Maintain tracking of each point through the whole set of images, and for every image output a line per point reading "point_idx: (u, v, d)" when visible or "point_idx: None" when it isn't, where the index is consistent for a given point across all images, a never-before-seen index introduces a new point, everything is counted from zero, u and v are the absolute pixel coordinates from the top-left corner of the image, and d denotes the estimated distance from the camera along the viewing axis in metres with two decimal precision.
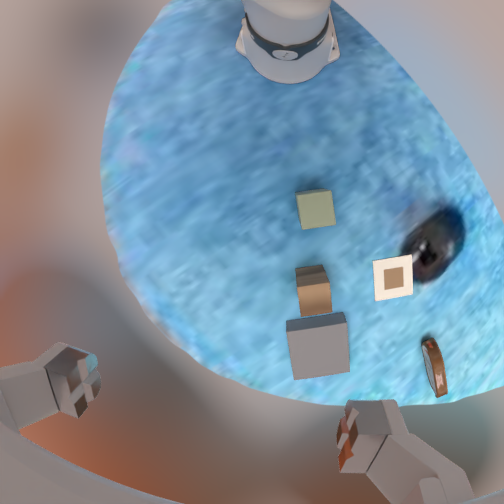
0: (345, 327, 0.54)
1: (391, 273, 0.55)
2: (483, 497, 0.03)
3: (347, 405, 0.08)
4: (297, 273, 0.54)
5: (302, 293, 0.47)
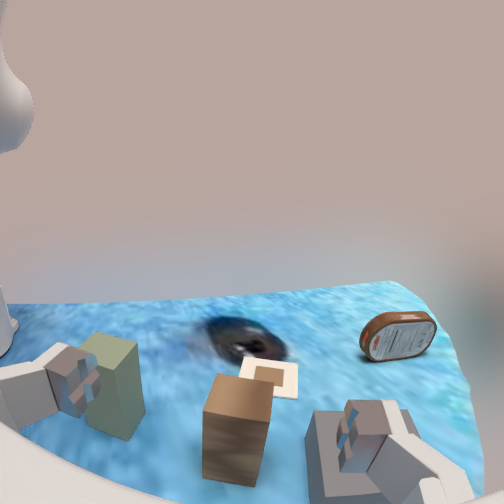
0: (322, 413, 0.28)
1: (261, 376, 0.40)
2: (483, 497, 0.03)
3: (347, 405, 0.08)
4: None
5: (218, 407, 0.22)
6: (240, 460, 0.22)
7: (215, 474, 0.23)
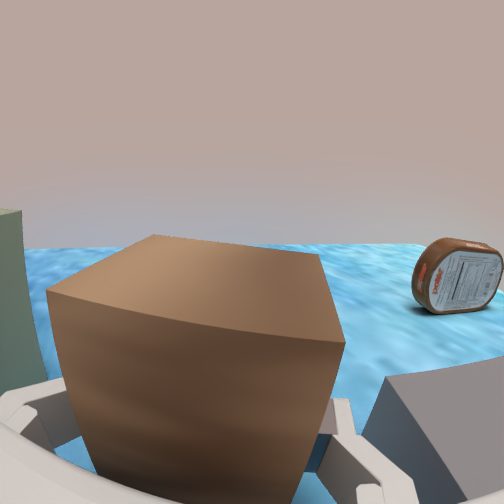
0: (406, 378, 0.11)
1: None
2: (483, 497, 0.03)
3: None
4: None
5: (110, 286, 0.05)
6: None
7: None
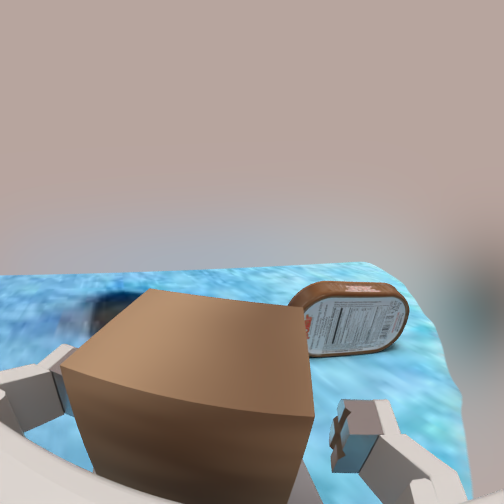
0: None
1: None
2: (483, 497, 0.03)
3: (339, 405, 0.08)
4: None
5: (115, 361, 0.06)
6: None
7: None
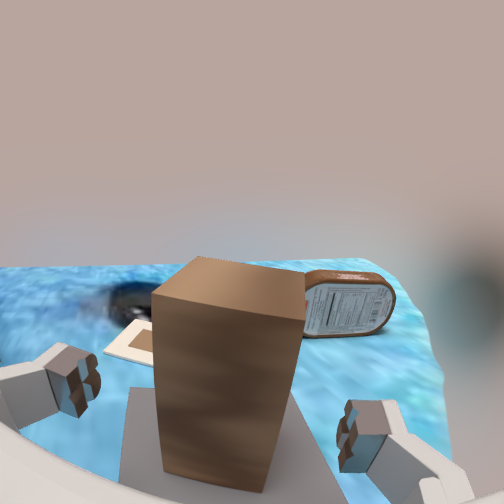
0: (142, 390, 0.18)
1: (141, 340, 0.32)
2: (483, 497, 0.03)
3: (347, 405, 0.08)
4: None
5: (188, 292, 0.10)
6: (235, 435, 0.11)
7: (185, 464, 0.12)
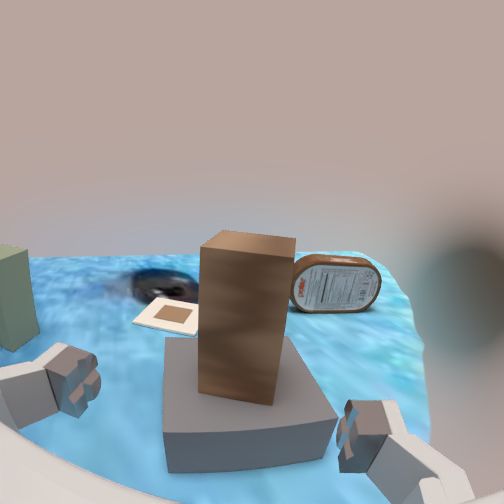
0: (176, 339, 0.25)
1: (164, 313, 0.39)
2: (483, 497, 0.03)
3: (347, 405, 0.08)
4: None
5: (222, 245, 0.17)
6: (253, 347, 0.18)
7: (215, 381, 0.19)
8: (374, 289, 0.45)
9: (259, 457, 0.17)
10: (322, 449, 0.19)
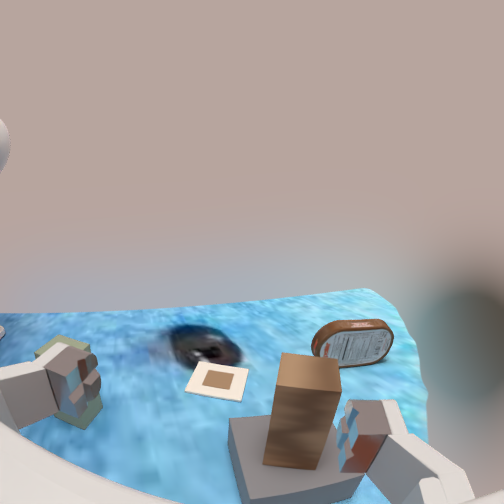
0: (238, 419, 0.30)
1: (210, 379, 0.43)
2: (483, 497, 0.03)
3: (347, 405, 0.08)
4: (266, 441, 0.24)
5: (290, 381, 0.22)
6: (306, 439, 0.23)
7: (276, 458, 0.24)
8: (387, 345, 0.49)
9: (310, 503, 0.22)
10: (351, 492, 0.23)
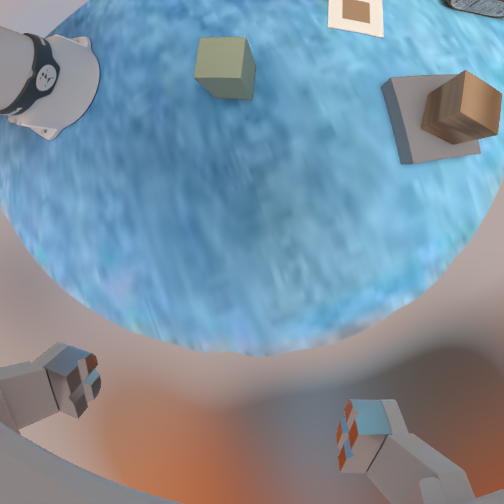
0: (398, 79, 0.31)
1: (349, 11, 0.32)
2: (483, 497, 0.03)
3: (347, 405, 0.08)
4: (431, 121, 0.29)
5: (469, 110, 0.22)
6: (459, 134, 0.27)
7: (433, 130, 0.30)
8: None
9: None
10: None
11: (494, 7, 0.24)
